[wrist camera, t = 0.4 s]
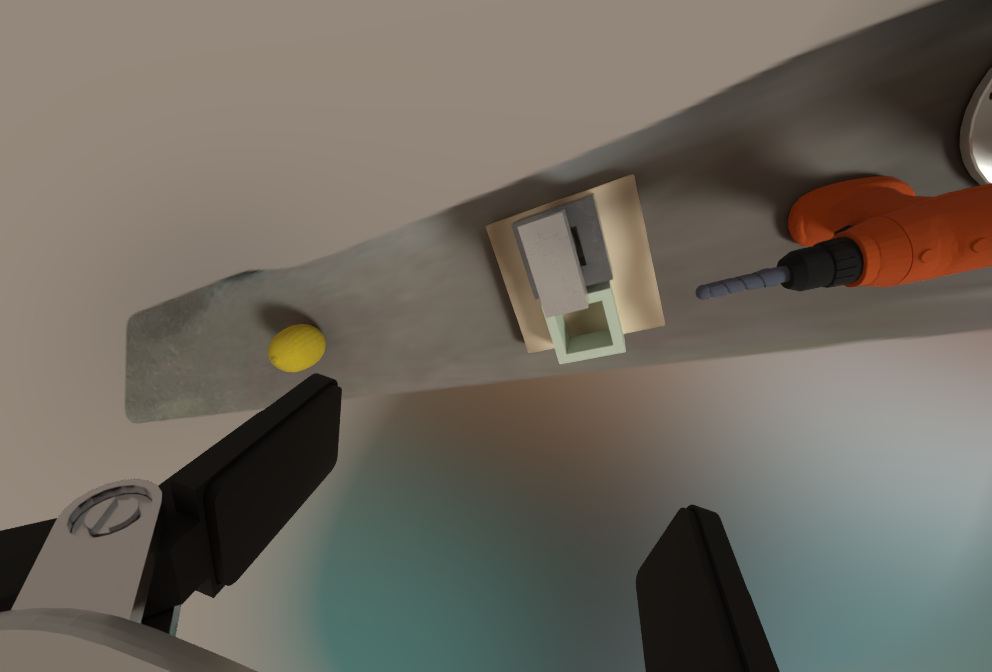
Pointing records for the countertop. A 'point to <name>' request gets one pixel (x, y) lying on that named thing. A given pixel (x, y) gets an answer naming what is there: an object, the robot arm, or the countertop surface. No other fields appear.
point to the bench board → (623, 244)
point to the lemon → (296, 348)
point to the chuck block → (591, 239)
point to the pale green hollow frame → (592, 342)
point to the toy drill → (876, 237)
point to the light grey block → (555, 263)
